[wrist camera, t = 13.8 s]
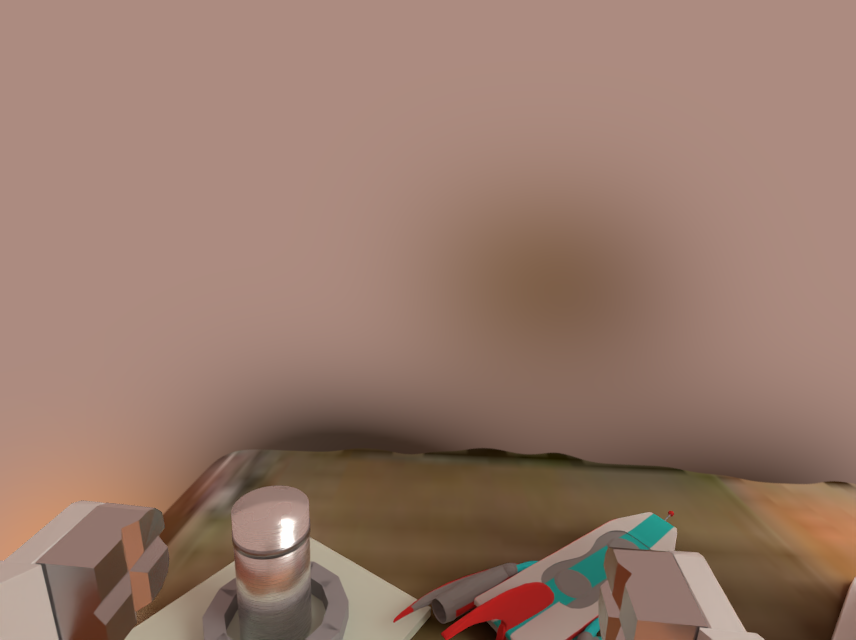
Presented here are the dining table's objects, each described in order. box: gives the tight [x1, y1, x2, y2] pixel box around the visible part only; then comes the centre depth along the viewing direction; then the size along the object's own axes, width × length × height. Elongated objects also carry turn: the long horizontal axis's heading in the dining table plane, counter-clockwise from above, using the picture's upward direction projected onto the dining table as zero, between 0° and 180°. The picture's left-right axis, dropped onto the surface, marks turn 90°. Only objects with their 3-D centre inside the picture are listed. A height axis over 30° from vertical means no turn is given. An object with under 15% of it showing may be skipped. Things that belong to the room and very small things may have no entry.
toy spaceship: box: [393, 511, 677, 640], centre depth 42 cm, size 27×11×5 cm, turn 130°
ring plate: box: [124, 537, 431, 640], centre depth 38 cm, size 16×16×2 cm
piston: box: [231, 486, 312, 640], centre depth 37 cm, size 5×5×10 cm
